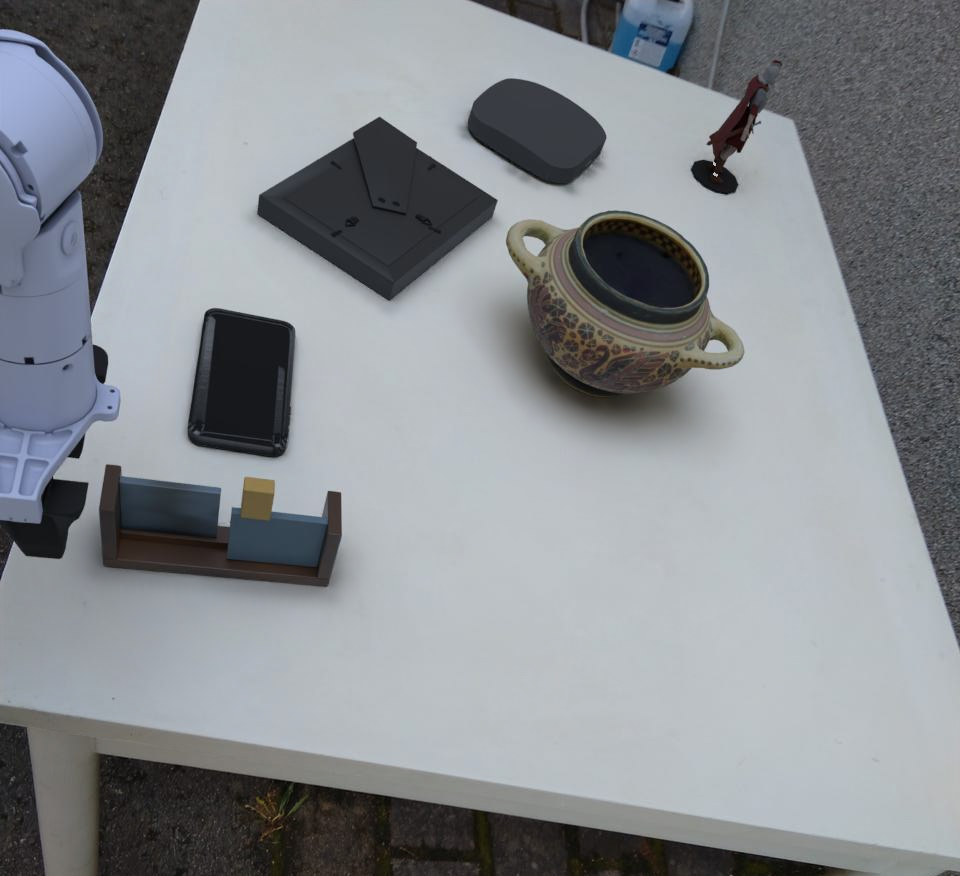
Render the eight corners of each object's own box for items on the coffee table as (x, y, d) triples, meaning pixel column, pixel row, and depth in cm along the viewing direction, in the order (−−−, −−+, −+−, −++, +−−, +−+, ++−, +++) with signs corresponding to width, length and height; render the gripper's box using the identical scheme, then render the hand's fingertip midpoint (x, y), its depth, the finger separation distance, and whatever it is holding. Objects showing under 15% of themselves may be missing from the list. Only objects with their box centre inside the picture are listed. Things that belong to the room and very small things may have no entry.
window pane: (317, 558, 71) (334, 486, 64) (316, 571, 70) (334, 500, 63) (227, 549, 69) (235, 474, 62) (226, 562, 68) (234, 489, 61)
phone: (186, 433, 73) (205, 305, 81) (186, 443, 74) (205, 315, 82) (288, 449, 75) (297, 323, 83) (286, 459, 76) (296, 332, 84)
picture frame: (374, 141, 103) (256, 213, 91) (379, 116, 100) (259, 187, 88) (492, 217, 102) (389, 300, 90) (500, 193, 100) (395, 276, 87)
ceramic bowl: (448, 351, 93) (471, 242, 79) (539, 242, 99) (575, 123, 85) (655, 486, 91) (716, 400, 77) (734, 366, 98) (803, 267, 84)
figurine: (738, 201, 119) (805, 84, 107) (686, 182, 118) (748, 62, 106) (736, 172, 123) (800, 56, 111) (686, 153, 122) (745, 34, 109)
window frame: (327, 544, 73) (341, 491, 68) (328, 586, 71) (342, 535, 66) (109, 522, 68) (105, 463, 63) (103, 566, 66) (98, 509, 61)
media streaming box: (454, 129, 109) (461, 104, 106) (511, 89, 117) (518, 65, 115) (560, 194, 108) (569, 171, 105) (609, 149, 116) (618, 126, 114)
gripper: (98, 446, 42) (110, 607, 53) (131, 242, 50) (136, 421, 61) (-77, 425, 40) (-26, 597, 51) (-16, 215, 48) (17, 405, 59)
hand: (53, 501), depth 56 cm, fingers open, 7 cm apart
